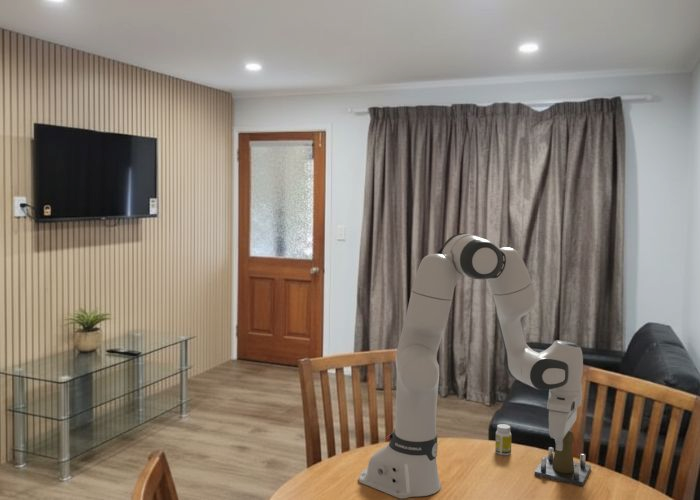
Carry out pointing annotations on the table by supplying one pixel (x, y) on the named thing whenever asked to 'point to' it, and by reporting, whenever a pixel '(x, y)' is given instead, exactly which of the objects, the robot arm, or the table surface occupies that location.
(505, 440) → the supplement bottle
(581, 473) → the standoff chassis
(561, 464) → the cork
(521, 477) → the table surface
